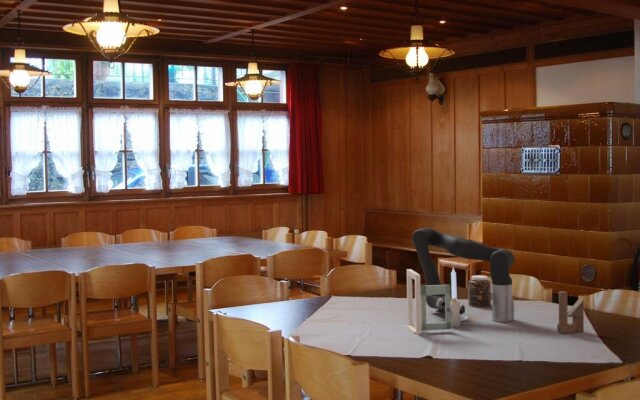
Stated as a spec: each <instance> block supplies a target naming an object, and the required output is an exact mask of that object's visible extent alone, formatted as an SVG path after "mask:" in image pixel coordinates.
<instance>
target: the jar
mask: <svg viewBox="0 0 640 400" xmlns="http://www.w3.org/2000/svg"><path fill="white" fill-rule="evenodd" d="M488 278H489V277H488V276H487V275H481V274H478V275H472V276H471V277H470V279H469V280H468V284H467V285H468V287H467V289H468V290H467V291H468V293H467V294H468V296H467V298H468V300H467V301H468V303H467V304H468V306H470V307H474V308H489V307H492V280H490V279H488Z"/></svg>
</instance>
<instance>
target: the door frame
mask: <svg viewBox="0 0 640 400" xmlns="http://www.w3.org/2000/svg"><path fill="white" fill-rule="evenodd" d="M413 280H414V296H415V297H414V303H415V304H414V307H413ZM406 305H407V306H406V309H407V311H406V312H407V313H406V314H407V325H406V328H407V329H408V330H409V332H411V333H412V334H413V335H416V336H418V335H419V336H420V334H421V335H422V334H423V331H422V330H421V274H419V273H418V272H417V271H415V270H413V269H411V268H409V269H408V268H406ZM413 308H415V309H414V310H415V320H414V316H413V315H414V314H413V313H414V311H413ZM414 321H415V324H414Z"/></svg>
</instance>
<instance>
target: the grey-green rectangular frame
mask: <svg viewBox="0 0 640 400" xmlns="http://www.w3.org/2000/svg"><path fill="white" fill-rule="evenodd" d="M420 292H421V331H422V332H423V331H440V330H442V331H444V330H451V315H450V299H451V284H441V285H428V286H427V285H420ZM438 294H445V314H444V316H445V321H441V322H440V321H439V322H427V302H426V297H427V295H438Z"/></svg>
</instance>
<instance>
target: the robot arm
mask: <svg viewBox="0 0 640 400" xmlns="http://www.w3.org/2000/svg"><path fill="white" fill-rule="evenodd" d="M411 240H412V244H413V246H414V248H415V251H416V254H417V256H418V259H419V262H420V264H421V267H422V271H423V275H424V281H425V284H426V285H425V286H428V285H442V282H441V279H440V275H439V271H438V268H437V265H436V264H435V262H434V261H433V259H432V257H431V254H430V250H429V246H432V247H437V248H441V249H443V250H444V251H446V252H448V253H449V254H451V255H453V256H455V257H459V258H461V259H465V260H473V261H485V262H488V263H489V273H490V279H491V308H492V315H491V317H492V321H494V322H500V323H506V322H512V321H513V322H514V321H515V301H514V299H513V278H512V277H511V276H510V269H509V268H511V267H512V266H513V265H514V264H515V260H516V259H515V254H514V253H513V252H512V251H510V250H509V249H506V248H499V247H493V246H488V245H485V244H482V243H480V242H477V241H474V240H470V239H467V238H463V237H458V236H455V235H450V234H446V233H443V232H440V231H437V230H435V229H433V228H430V227H422V228H419V229H416V230H415V231H414V232H413V233H412V239H411ZM451 300H452V298H450V301H451ZM426 305H427V306H428V307H429V308H431V309H433V310H434V309H435V312H436V313H438V314H441V315H445V294H438V295H426ZM464 313H466V307H465V304H461V305H460V316H461V315H463V314H464Z"/></svg>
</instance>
